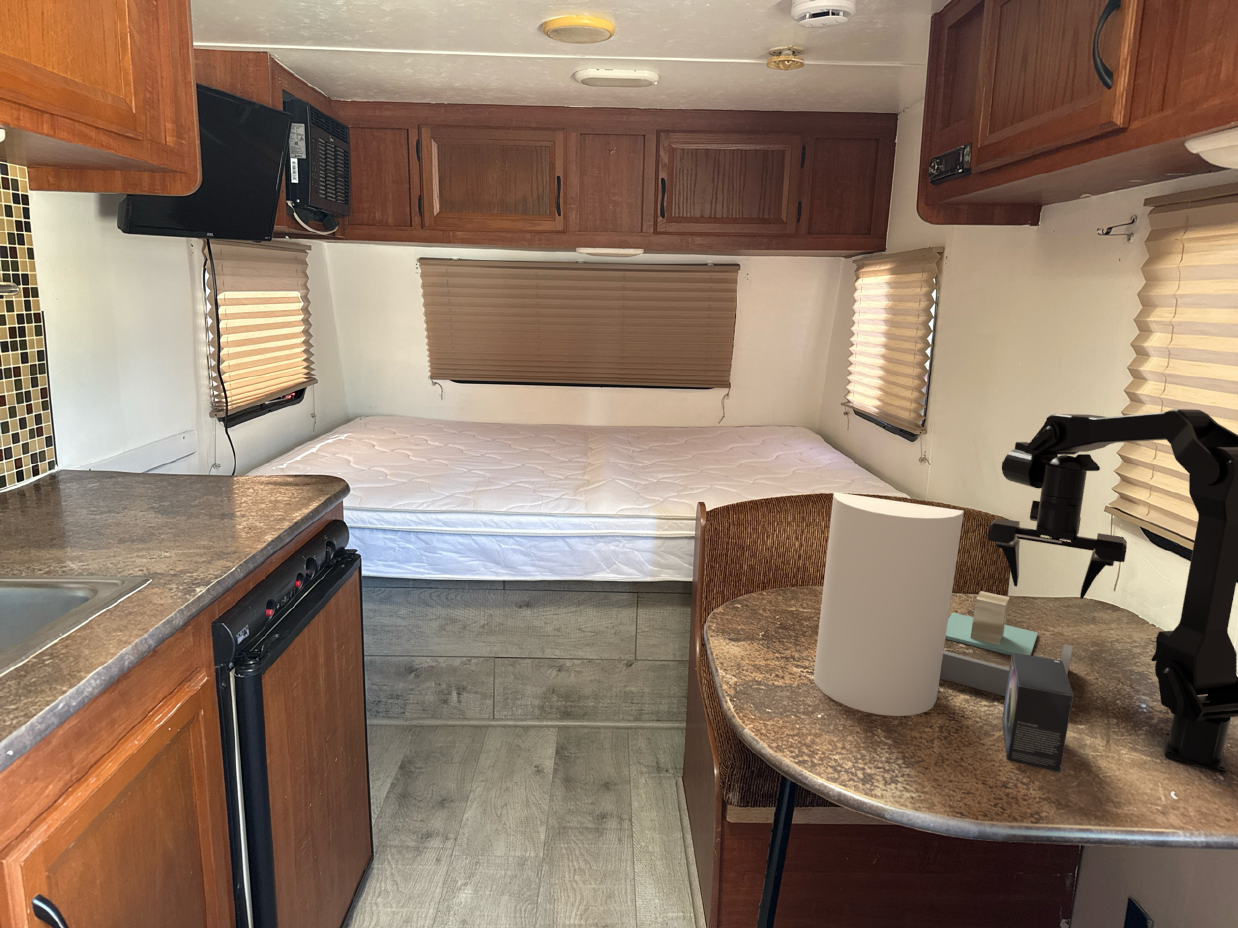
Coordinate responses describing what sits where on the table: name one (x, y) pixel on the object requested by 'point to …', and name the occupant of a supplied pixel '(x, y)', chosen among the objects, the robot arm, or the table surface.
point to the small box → (1036, 711)
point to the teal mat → (1010, 643)
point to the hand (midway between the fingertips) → (1048, 591)
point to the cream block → (989, 617)
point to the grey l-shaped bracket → (983, 671)
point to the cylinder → (886, 603)
